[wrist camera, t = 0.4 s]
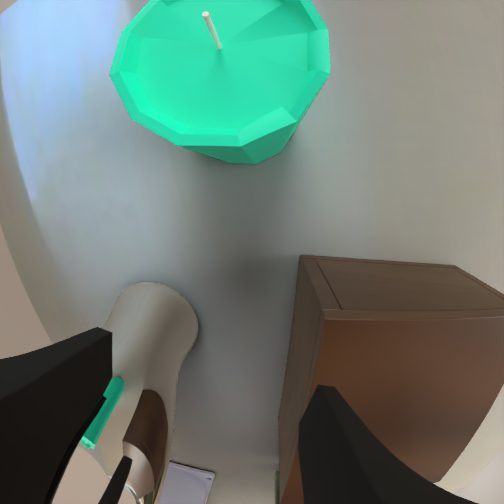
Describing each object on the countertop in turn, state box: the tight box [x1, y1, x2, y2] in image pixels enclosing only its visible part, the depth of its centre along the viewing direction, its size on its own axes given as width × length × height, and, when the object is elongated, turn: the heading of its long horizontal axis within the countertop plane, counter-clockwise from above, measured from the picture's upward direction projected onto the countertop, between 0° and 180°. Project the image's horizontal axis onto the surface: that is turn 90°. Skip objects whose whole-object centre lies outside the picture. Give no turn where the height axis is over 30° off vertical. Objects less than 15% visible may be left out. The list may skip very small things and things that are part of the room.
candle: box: [110, 0, 330, 164], centre depth 11 cm, size 6×6×12 cm
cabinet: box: [278, 255, 504, 504], centre depth 16 cm, size 14×12×9 cm
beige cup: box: [44, 282, 198, 504], centre depth 13 cm, size 7×7×15 cm
